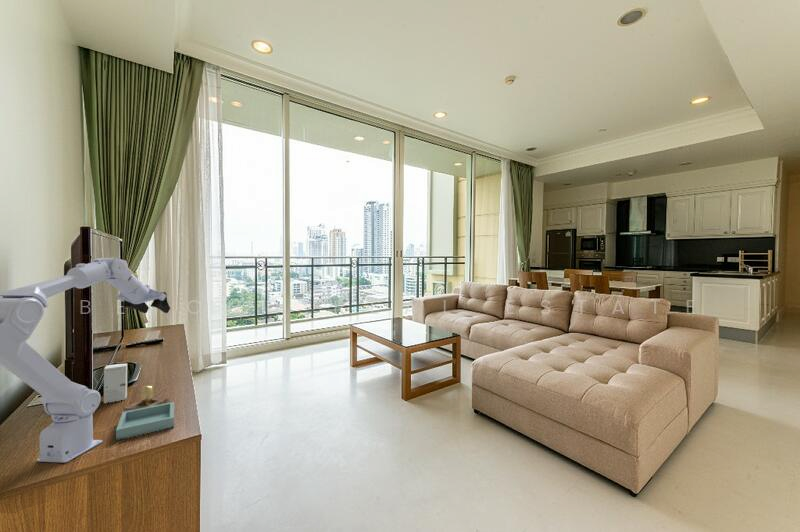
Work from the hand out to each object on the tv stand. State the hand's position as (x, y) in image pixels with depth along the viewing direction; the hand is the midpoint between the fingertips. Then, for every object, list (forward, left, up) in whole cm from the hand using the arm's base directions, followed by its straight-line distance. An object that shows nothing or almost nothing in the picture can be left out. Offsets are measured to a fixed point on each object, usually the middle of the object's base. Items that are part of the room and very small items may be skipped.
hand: (157, 310), depth 114 cm
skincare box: (+2, +18, -32) cm, 37 cm away
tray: (-14, -8, -32) cm, 36 cm away
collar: (-3, +2, -32) cm, 32 cm away
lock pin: (-3, +2, -32) cm, 32 cm away
